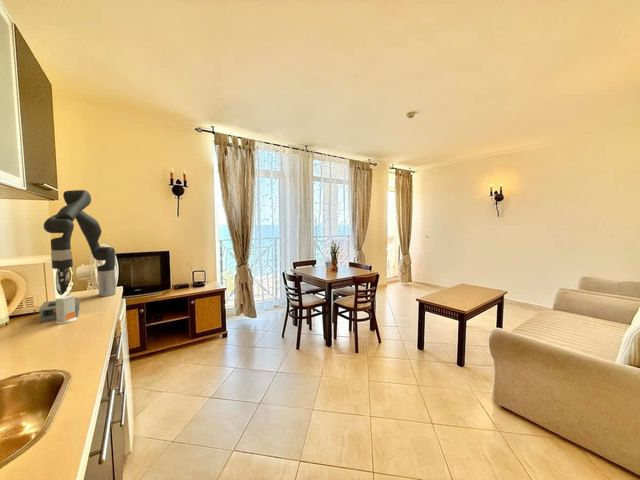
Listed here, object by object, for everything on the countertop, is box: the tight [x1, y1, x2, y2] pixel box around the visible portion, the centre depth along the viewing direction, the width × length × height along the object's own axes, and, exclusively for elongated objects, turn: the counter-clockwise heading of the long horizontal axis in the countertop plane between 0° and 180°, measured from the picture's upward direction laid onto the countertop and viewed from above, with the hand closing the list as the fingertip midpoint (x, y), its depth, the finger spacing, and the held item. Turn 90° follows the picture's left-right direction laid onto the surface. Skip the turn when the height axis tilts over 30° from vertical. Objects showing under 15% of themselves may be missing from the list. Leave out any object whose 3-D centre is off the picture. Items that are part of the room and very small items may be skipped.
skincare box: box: [55, 295, 75, 322], centre depth 134 cm, size 6×4×12 cm
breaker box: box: [38, 297, 80, 323], centre depth 141 cm, size 14×14×7 cm
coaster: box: [55, 316, 78, 325], centre depth 134 cm, size 8×8×1 cm
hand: (64, 289), depth 133 cm, fingers open, 8 cm apart
